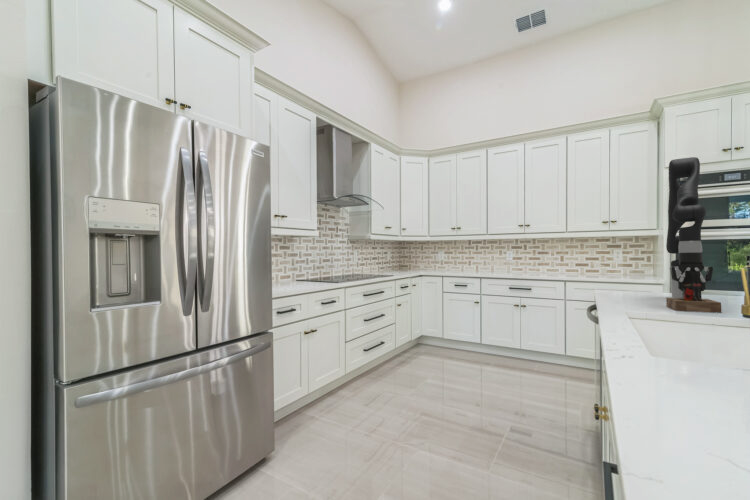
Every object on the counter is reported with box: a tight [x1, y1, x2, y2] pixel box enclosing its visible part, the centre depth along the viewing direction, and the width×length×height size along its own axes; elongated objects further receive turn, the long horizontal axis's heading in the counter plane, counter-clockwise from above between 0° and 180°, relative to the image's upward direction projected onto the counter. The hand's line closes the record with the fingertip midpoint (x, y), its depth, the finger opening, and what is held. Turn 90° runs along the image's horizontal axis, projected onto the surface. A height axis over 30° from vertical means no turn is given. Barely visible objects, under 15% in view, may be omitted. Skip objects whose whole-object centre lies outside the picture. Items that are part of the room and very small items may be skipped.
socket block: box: [665, 297, 722, 314], centre depth 148 cm, size 14×14×4 cm
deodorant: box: [682, 271, 703, 301], centre depth 148 cm, size 6×6×15 cm
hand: (691, 290), depth 148 cm, fingers closed on deodorant, 6 cm apart
